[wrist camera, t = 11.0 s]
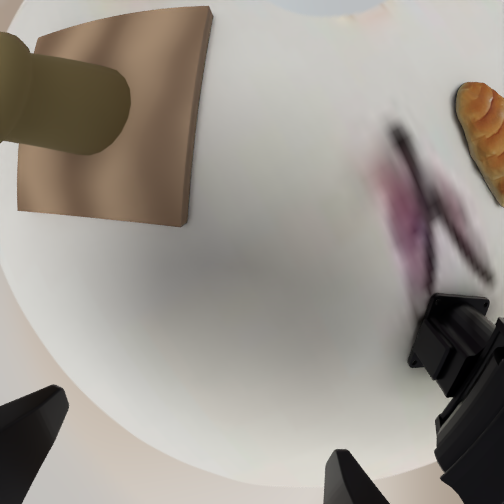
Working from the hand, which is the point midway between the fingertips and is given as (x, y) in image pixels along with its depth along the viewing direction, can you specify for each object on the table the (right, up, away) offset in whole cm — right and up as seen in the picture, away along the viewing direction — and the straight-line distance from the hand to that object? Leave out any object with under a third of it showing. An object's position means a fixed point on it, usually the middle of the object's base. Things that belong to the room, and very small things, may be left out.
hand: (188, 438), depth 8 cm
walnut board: (-8, +15, +9) cm, 19 cm away
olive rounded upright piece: (-8, +15, +8) cm, 19 cm away
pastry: (+20, +14, +8) cm, 26 cm away
